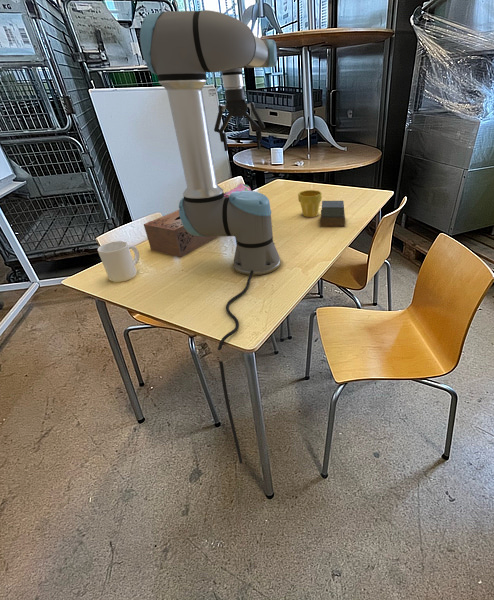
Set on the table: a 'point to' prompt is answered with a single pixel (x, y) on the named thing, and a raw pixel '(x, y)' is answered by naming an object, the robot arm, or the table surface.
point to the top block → (332, 208)
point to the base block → (332, 221)
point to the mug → (119, 260)
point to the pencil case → (238, 189)
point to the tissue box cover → (172, 236)
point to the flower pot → (310, 202)
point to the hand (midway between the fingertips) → (242, 149)
